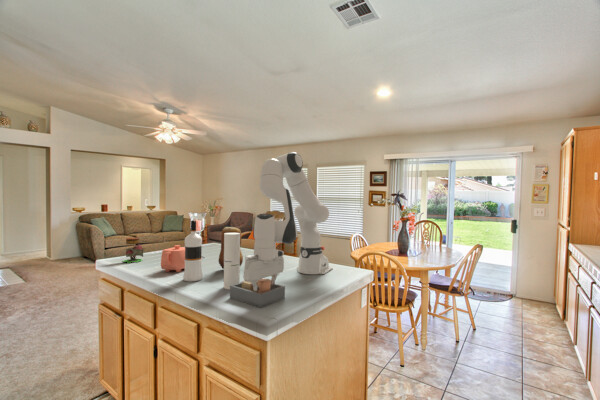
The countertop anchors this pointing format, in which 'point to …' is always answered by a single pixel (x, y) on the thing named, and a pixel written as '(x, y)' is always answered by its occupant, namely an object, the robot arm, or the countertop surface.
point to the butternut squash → (221, 256)
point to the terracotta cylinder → (264, 285)
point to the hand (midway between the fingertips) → (264, 287)
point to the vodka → (193, 256)
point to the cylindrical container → (231, 259)
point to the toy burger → (133, 250)
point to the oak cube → (248, 285)
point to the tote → (257, 295)
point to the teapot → (173, 258)
